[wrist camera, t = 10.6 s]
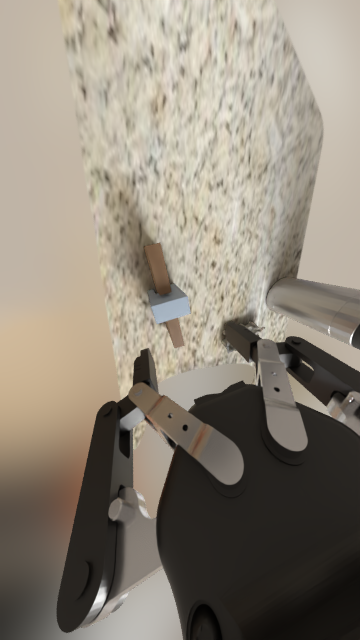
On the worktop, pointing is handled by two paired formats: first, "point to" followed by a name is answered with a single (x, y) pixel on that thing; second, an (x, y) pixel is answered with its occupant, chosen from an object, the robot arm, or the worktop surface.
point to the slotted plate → (163, 287)
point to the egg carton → (250, 326)
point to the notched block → (169, 304)
